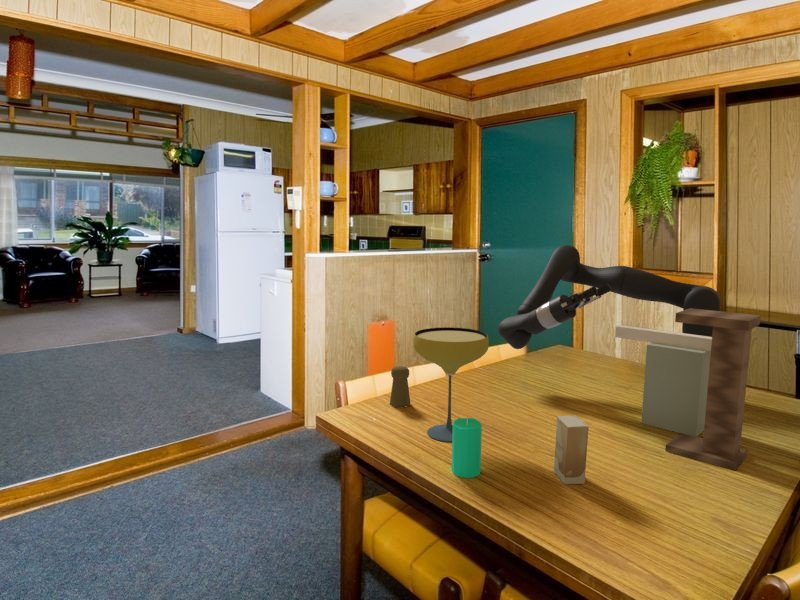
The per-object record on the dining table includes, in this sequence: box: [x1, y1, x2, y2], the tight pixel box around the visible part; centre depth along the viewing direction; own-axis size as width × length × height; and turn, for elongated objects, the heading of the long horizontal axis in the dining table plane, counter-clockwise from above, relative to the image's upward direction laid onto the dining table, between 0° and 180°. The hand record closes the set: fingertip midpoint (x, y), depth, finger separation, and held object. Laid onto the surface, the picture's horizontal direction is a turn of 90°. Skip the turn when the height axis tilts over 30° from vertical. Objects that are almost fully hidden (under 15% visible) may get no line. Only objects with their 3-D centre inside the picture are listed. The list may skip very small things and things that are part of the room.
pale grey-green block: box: [641, 342, 711, 437], centre depth 138 cm, size 13×10×21 cm
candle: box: [451, 415, 483, 479], centre depth 112 cm, size 6×6×12 cm
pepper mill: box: [389, 365, 411, 408], centre depth 154 cm, size 6×6×11 cm
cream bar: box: [614, 324, 712, 351], centre depth 138 cm, size 26×3×3 cm, turn 46°
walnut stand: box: [665, 308, 761, 471], centre depth 120 cm, size 14×10×32 cm
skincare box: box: [553, 415, 589, 485], centre depth 109 cm, size 6×4×12 cm
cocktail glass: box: [412, 326, 490, 443], centre depth 131 cm, size 18×18×25 cm
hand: (603, 288), depth 149 cm, fingers open, 8 cm apart
